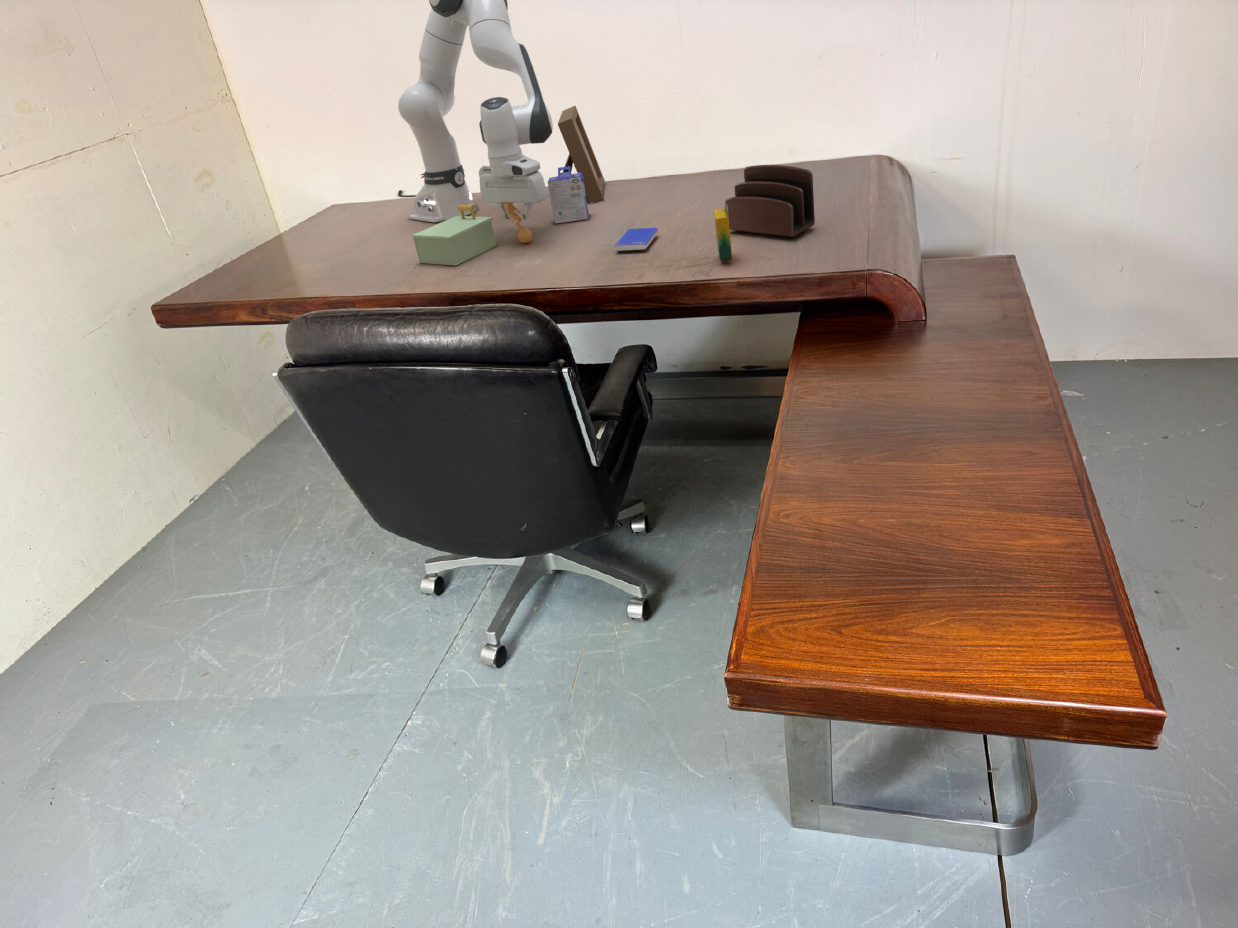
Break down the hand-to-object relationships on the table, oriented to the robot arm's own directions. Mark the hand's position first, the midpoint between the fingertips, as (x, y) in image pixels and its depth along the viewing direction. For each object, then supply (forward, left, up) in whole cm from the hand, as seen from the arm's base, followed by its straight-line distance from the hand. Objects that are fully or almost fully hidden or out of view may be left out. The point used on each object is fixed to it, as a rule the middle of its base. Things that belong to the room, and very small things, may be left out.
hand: (517, 218), depth 226 cm
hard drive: (+34, +5, -7) cm, 35 cm away
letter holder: (+64, +20, -7) cm, 67 cm away
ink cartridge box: (+1, +22, -7) cm, 23 cm away
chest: (-14, -11, -7) cm, 19 cm away
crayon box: (+62, -1, -7) cm, 62 cm away
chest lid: (-14, -11, 0) cm, 18 cm away
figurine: (0, 0, -7) cm, 7 cm away
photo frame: (-12, +45, -7) cm, 47 cm away
